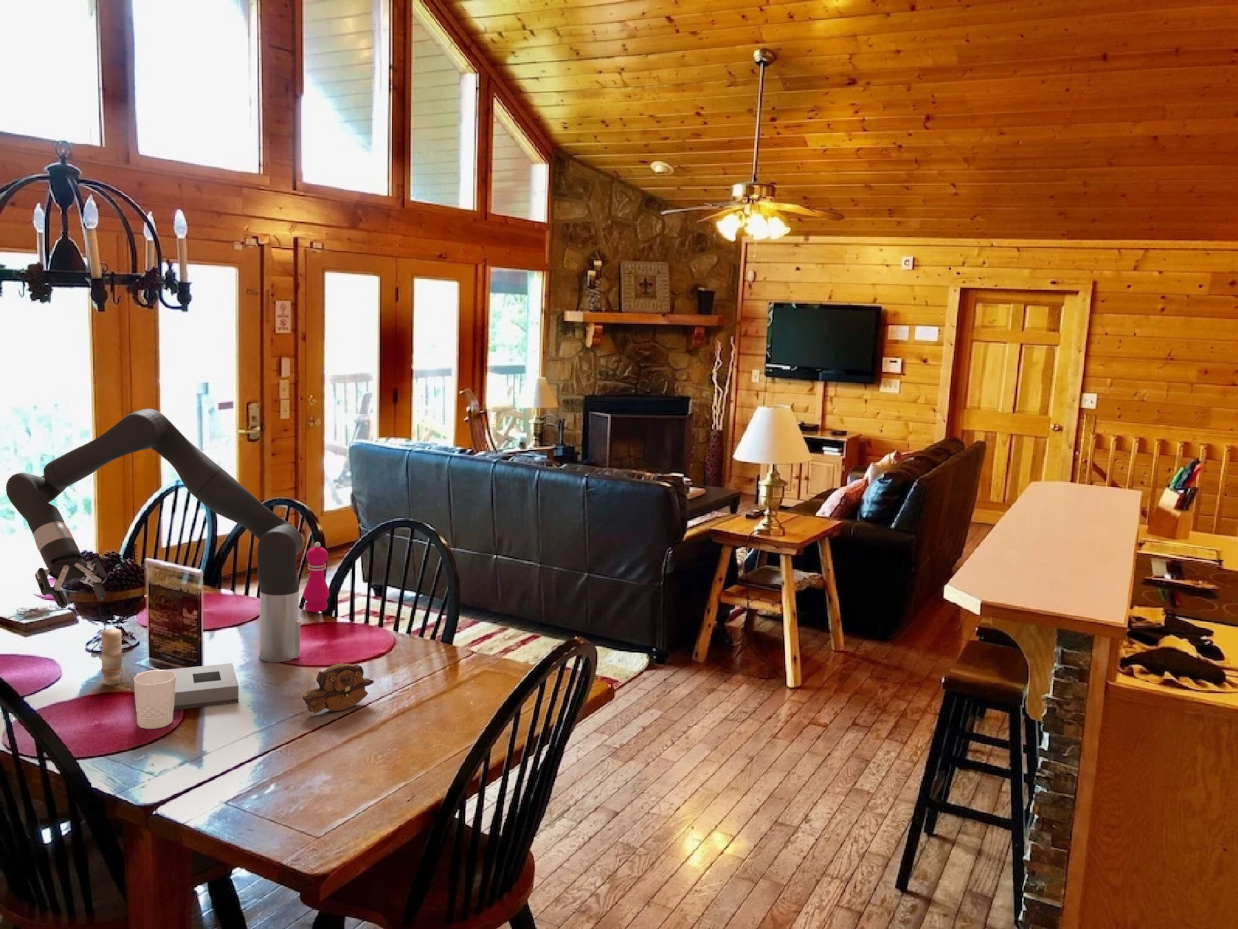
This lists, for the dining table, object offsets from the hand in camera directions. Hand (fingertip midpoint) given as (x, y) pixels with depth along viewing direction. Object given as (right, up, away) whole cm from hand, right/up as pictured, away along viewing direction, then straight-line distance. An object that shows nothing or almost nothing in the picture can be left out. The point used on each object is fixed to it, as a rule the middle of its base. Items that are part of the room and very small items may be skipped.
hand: (84, 602), depth 222 cm
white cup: (+27, -22, -22) cm, 41 cm away
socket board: (+28, -20, -8) cm, 35 cm away
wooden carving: (+62, -23, -9) cm, 67 cm away
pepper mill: (+36, -10, +56) cm, 68 cm away
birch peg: (+8, -18, -4) cm, 20 cm away
